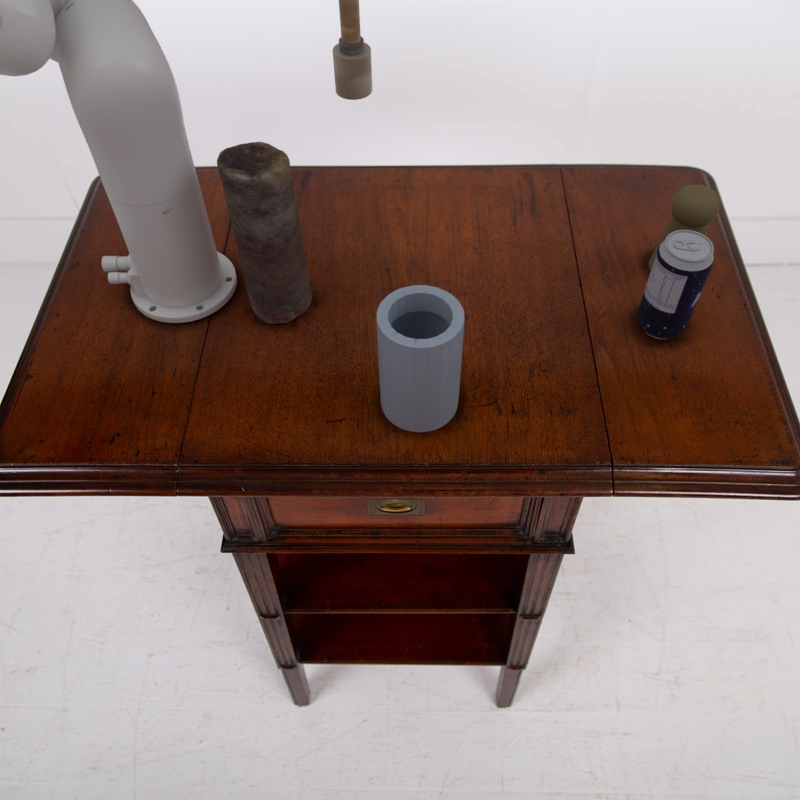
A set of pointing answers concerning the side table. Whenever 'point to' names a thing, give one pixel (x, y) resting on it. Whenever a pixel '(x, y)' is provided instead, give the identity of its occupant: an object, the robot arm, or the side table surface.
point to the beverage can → (675, 284)
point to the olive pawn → (691, 212)
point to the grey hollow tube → (420, 356)
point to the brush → (352, 55)
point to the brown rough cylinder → (266, 229)
